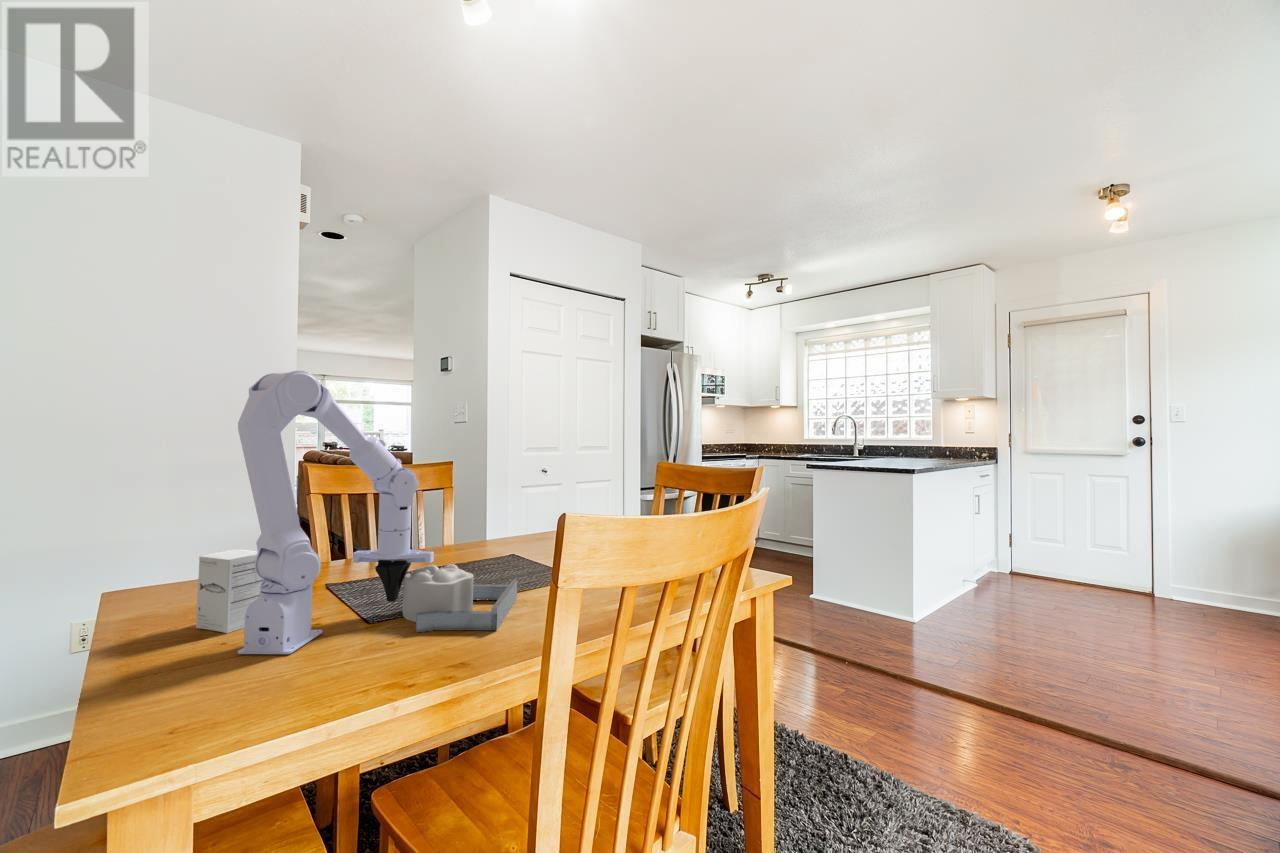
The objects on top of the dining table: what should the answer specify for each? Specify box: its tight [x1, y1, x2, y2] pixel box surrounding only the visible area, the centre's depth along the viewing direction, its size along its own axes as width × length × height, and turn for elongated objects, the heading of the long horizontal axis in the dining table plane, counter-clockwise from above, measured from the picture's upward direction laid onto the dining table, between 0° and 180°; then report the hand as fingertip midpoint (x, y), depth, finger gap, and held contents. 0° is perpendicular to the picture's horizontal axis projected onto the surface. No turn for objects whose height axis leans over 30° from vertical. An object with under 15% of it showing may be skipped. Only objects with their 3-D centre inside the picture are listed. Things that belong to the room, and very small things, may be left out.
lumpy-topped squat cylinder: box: [402, 563, 475, 623], centre depth 104 cm, size 10×13×9 cm
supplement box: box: [195, 548, 262, 634], centre depth 95 cm, size 7×7×13 cm
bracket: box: [415, 579, 518, 634], centre depth 104 cm, size 21×14×4 cm, turn 2°
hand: (392, 600), depth 103 cm, fingers closed
